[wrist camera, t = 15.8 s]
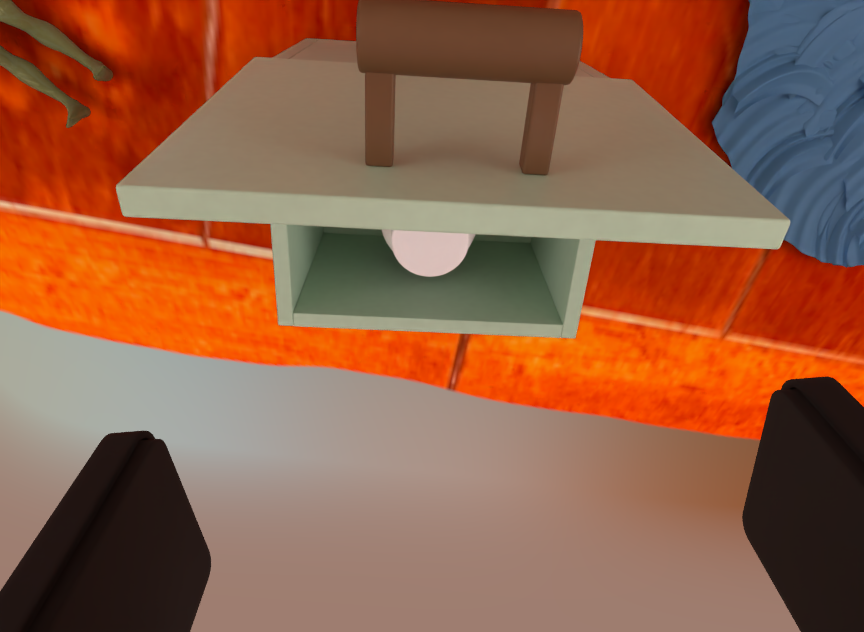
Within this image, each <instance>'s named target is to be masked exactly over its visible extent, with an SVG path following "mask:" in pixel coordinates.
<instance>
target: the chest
mask: <svg viewBox="0 0 864 632" xmlns="http://www.w3.org/2000/svg"><path fill="white" fill-rule="evenodd" d="M273 58H283V59H299V60H316V61H332V62H349V63H357V52H356V41H344V40H328V39H312V38H306V39H304V40H302V41H301V42H299V43H297V44H295V45H294V46H292V47H290V48H288V49H287V50H285V51H283V52H281V53H280V54H278V55H276V56H274V57H273ZM575 76H579V77H596V78H609V77H607V76H606V75H604V74H602V73H600V72H599V71H597V70H595V69H593V68H592V67H590V66H588V65H586V64H585V63H583V62H581V61H579V65H578V68H577V72H576V74H575ZM270 225H271V238H272V251H273V263H274V276H275V289H276V302H277V315H278V324H279V325H284V326H293V325H294V326H302V327H325V328H348V329H371V330H394V331H417V332H440V333H463V334H486V335H509V336H532V337H555V338H560V337H561V338H576V333H577V328H578V323H579V319H580V314H581V309H582V304H583V299H584V294H585V289H586V285H587V280H588V275H589V270H590V265H591V260H592V255H593V251H594V246H595V241H596V240H583V239H563V238H543V237H523V236H503V235H483V234H476V235H475V237H474V239H473V241H472V243H471V245H470V246H469V248H468V251H467V253H466V255H465V257H464V259H463V261H462V262H461V263H460V264H459V265H458V266H457V267H456V268H455V269H453V270H452V271H450V272H448V273H446V274H443V275H440V276H434V277H426V276H420V275H417V274H414V273H412V272H410V271H408V270H407V269H405V268H404V267H403V266H402V265H401V264H400V263H399V262H398V260H397V259H396V257H395V255H394V253H393V251H392V250H391V248H390V247H389V246H388V244H387V242H386V241H385V238H384V236H383V233H382V229H363V228H343V227H323V226H303V225H283V224H270Z"/></svg>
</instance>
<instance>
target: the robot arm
mask: <svg viewBox="0 0 864 632" xmlns="http://www.w3.org/2000/svg"><path fill="white" fill-rule="evenodd" d="M742 518H743V526H744V530H745V533H746V535H747V538H748V540H749V541H750V543H751V545H752V547H753V548H754V550H755V552H756V554H757V555H758V557H759V559H760V560H761V562H762V564H763V566H764V568H765V569H766V571H767V573H768V574H769V576H770V578H771V580H772V582H773V584H774V585H775V587H776V589H777V591H778V592H779V594H780V596H781V597H782V599H783V601H784V603H785V604H786V606H787V608H788V610H789V612H790V613H791V615H792V617H793V619H794V620H795V622H796V624H797V626H798V627H799V629H800V631H801V632H864V407H863V406H862V405H861V404H860V403H859V402H858V401H857V400H856V399H855V398H854V397H853V396H852V395H851V394H850V393H849V392H848V391H847V390H846V389H845V388H844V387H843V386H842V385H841V384H840V383H839V382H837V381H836V380H835V379H833V378H831V377H816V378H804V379H791V380H788V381H786V382H785V383H784V384H783V386H782V388H781V390H777V391H775V392H774V393H773V394H772V396H771V399H770V403H769V407H768V411H767V415H766V420H765V424H764V428H763V432H762V436H761V440H760V444H759V448H758V452H757V457H756V461H755V465H754V469H753V473H752V477H751V482H750V485H749V489H748V493H747V498H746V502H745V506H744V510H743V516H742ZM210 569H211V557H210V552H209V549H208V547H207V544H206V542H205V540H204V537H203V535H202V532H201V530H200V527H199V525H198V522H197V520H196V518H195V515H194V513H193V510H192V508H191V505H190V503H189V500H188V498H187V495H186V493H185V490H184V488H183V486H182V483H181V481H180V478H179V476H178V473H177V471H176V468H175V466H174V463H173V461H172V459H171V456H170V454H169V451H168V449H167V446H166V444H165V443H164V441H163V440H161V439H155V438H154V436H153V434H151V433H150V432H149V431H134V432H121V433H111V434H108V435H106V436H105V437H104V438H103V439H102V440H101V442H100V443H99V445H98V447H97V448H96V450H95V451H94V452H93V454H92V455H91V457H90V458H89V460H88V461H87V463H86V464H85V466H84V467H83V469H82V470H81V472H80V473H79V475H78V476H77V478H76V479H75V481H74V482H73V484H72V485H71V487H70V488H69V490H68V491H67V493H66V494H65V496H64V497H63V499H62V500H61V502H60V503H59V505H58V506H57V508H56V509H55V511H54V512H53V514H52V515H51V516H50V518H49V519H48V521H47V522H46V524H45V525H44V527H43V528H42V530H41V531H40V533H39V534H38V536H37V537H36V539H35V540H34V542H33V543H32V545H31V546H30V548H29V549H28V551H27V552H26V554H25V555H24V557H23V558H22V560H21V561H20V563H19V564H18V566H17V567H16V569H15V570H14V572H13V573H12V575H11V576H10V578H9V579H8V581H7V582H6V584H5V585H4V587H3V588H2V590H1V591H0V632H190V630H191V627H192V624H193V621H194V619H195V616H196V613H197V610H198V607H199V604H200V601H201V598H202V595H203V592H204V590H205V587H206V584H207V581H208V578H209V574H210Z"/></svg>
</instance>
